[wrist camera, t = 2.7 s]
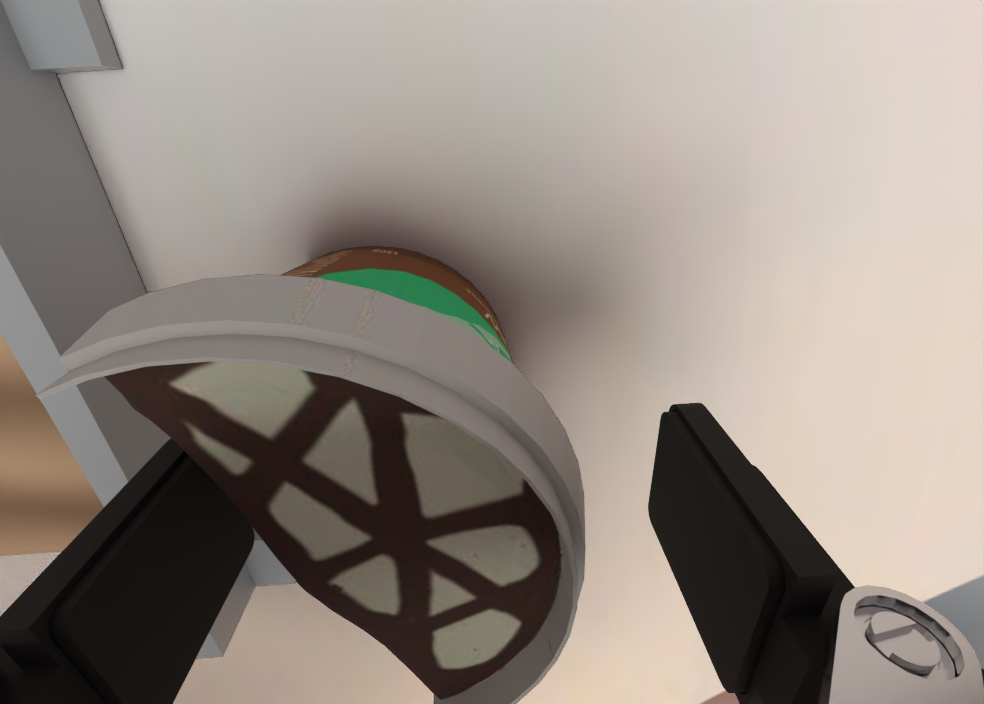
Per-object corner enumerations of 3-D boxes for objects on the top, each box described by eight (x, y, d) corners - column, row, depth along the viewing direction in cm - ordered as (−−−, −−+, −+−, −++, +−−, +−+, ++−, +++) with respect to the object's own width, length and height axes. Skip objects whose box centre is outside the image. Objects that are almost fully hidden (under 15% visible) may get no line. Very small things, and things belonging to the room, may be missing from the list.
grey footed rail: (301, 568, 22) (269, 652, 19) (199, 576, 22) (147, 662, 19) (73, -69, 12) (-104, -156, 8) (-126, -58, 12) (-394, -141, 8)
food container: (584, 422, 19) (684, 680, 10) (456, 476, 20) (445, 753, 11) (441, 132, 14) (393, 142, 5) (279, 223, 15) (-1, 366, 6)
